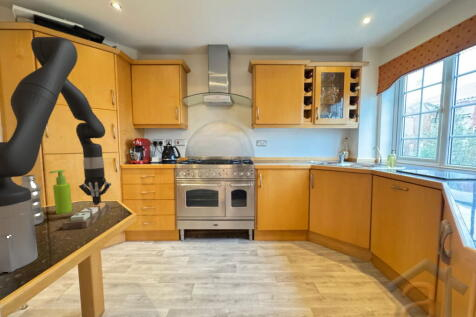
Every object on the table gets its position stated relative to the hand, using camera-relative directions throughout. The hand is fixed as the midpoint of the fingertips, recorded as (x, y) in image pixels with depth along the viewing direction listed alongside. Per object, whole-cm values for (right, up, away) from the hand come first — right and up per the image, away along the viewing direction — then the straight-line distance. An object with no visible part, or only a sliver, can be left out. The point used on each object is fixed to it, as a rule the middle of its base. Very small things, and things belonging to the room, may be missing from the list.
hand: (97, 203), depth 94 cm
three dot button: (+1, -5, -6) cm, 8 cm away
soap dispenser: (-17, -5, +2) cm, 18 cm away
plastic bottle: (-17, -6, -12) cm, 22 cm away
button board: (+1, -5, -6) cm, 8 cm away
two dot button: (+2, -5, -13) cm, 14 cm away
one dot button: (0, -4, 0) cm, 4 cm away
